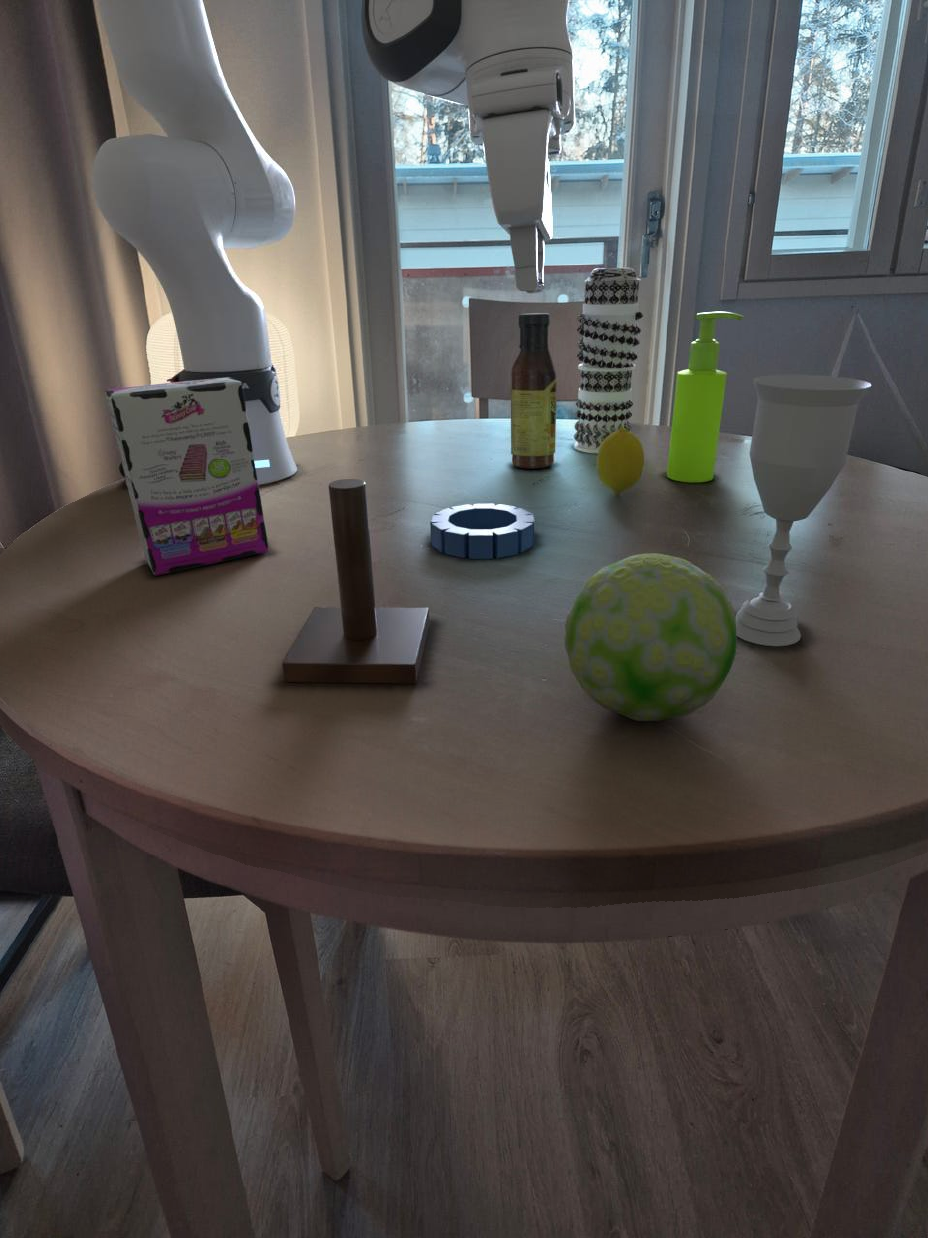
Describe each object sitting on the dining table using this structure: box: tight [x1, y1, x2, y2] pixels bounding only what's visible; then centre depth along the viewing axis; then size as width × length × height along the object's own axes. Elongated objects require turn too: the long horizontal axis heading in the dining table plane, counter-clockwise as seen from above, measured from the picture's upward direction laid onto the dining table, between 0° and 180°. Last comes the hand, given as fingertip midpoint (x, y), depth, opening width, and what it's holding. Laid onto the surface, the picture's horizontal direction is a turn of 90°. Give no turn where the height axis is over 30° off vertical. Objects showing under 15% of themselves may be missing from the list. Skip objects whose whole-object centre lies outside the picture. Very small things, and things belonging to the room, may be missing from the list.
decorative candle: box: [573, 267, 644, 454], centre depth 105 cm, size 9×9×25 cm
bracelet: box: [429, 503, 535, 560], centre depth 73 cm, size 10×10×2 cm
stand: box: [281, 478, 430, 685], centre depth 50 cm, size 9×9×12 cm
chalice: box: [735, 374, 872, 647], centre depth 50 cm, size 7×7×18 cm
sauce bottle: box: [510, 312, 558, 470], centre depth 97 cm, size 7×6×20 cm
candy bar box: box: [104, 377, 270, 576], centre depth 67 cm, size 11×5×16 cm, turn 122°
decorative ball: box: [564, 552, 738, 722], centre depth 43 cm, size 10×10×10 cm
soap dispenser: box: [666, 311, 745, 483], centre depth 90 cm, size 6×7×20 cm
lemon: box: [596, 428, 645, 495], centre depth 86 cm, size 6×6×8 cm
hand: (531, 291), depth 65 cm, fingers open, 8 cm apart
